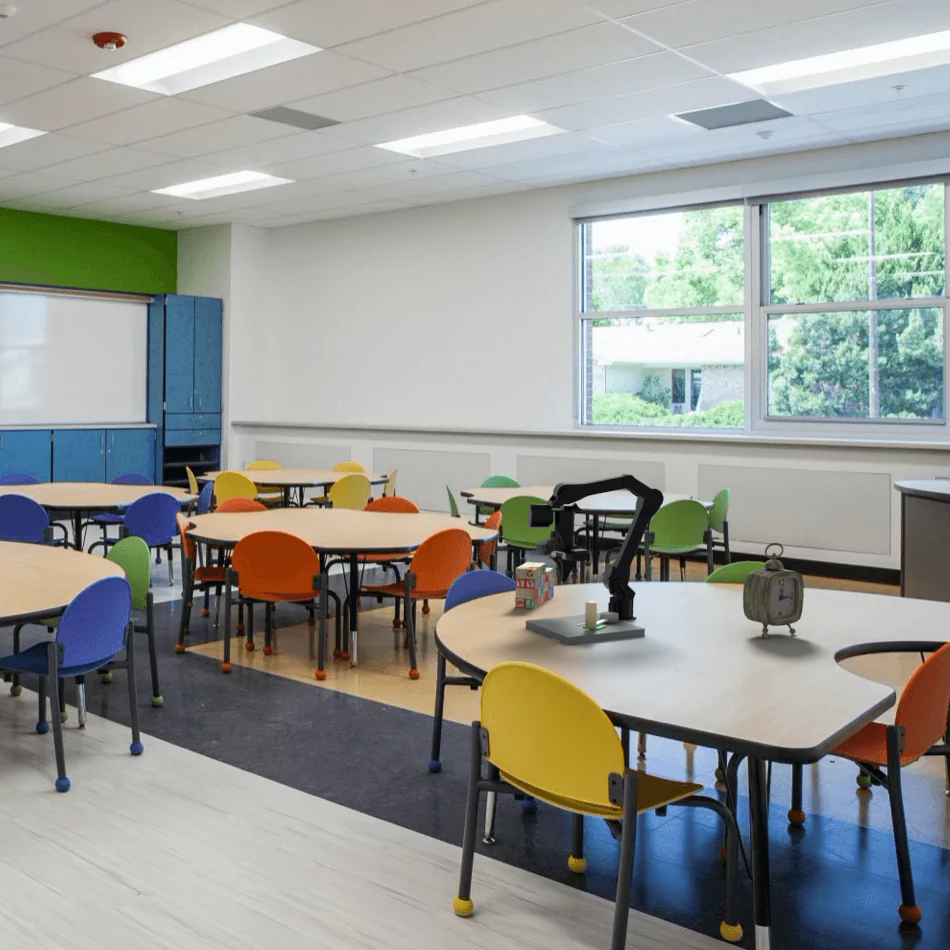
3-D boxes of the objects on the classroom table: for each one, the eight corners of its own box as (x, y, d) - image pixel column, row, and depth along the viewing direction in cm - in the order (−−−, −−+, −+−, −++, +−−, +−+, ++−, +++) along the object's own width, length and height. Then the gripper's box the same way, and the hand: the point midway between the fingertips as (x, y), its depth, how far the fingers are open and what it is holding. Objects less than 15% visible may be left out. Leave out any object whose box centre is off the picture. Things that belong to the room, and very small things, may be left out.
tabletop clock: (765, 641, 268) (767, 546, 266) (739, 634, 275) (741, 542, 274) (802, 634, 275) (805, 542, 274) (776, 628, 283) (778, 538, 281)
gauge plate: (598, 619, 292) (599, 611, 292) (644, 636, 273) (644, 626, 272) (525, 627, 282) (525, 618, 281) (567, 644, 262) (568, 635, 262)
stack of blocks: (535, 595, 330) (535, 557, 329) (553, 596, 327) (554, 558, 327) (514, 607, 310) (515, 567, 309) (534, 609, 307) (535, 568, 306)
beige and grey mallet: (604, 618, 284) (604, 592, 283) (621, 620, 281) (621, 594, 281) (579, 628, 270) (580, 602, 270) (597, 631, 268) (597, 604, 267)
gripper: (523, 525, 295) (522, 578, 296) (558, 532, 278) (557, 589, 279) (555, 523, 300) (555, 575, 301) (592, 530, 283) (591, 586, 285)
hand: (563, 581), depth 291 cm, fingers closed
